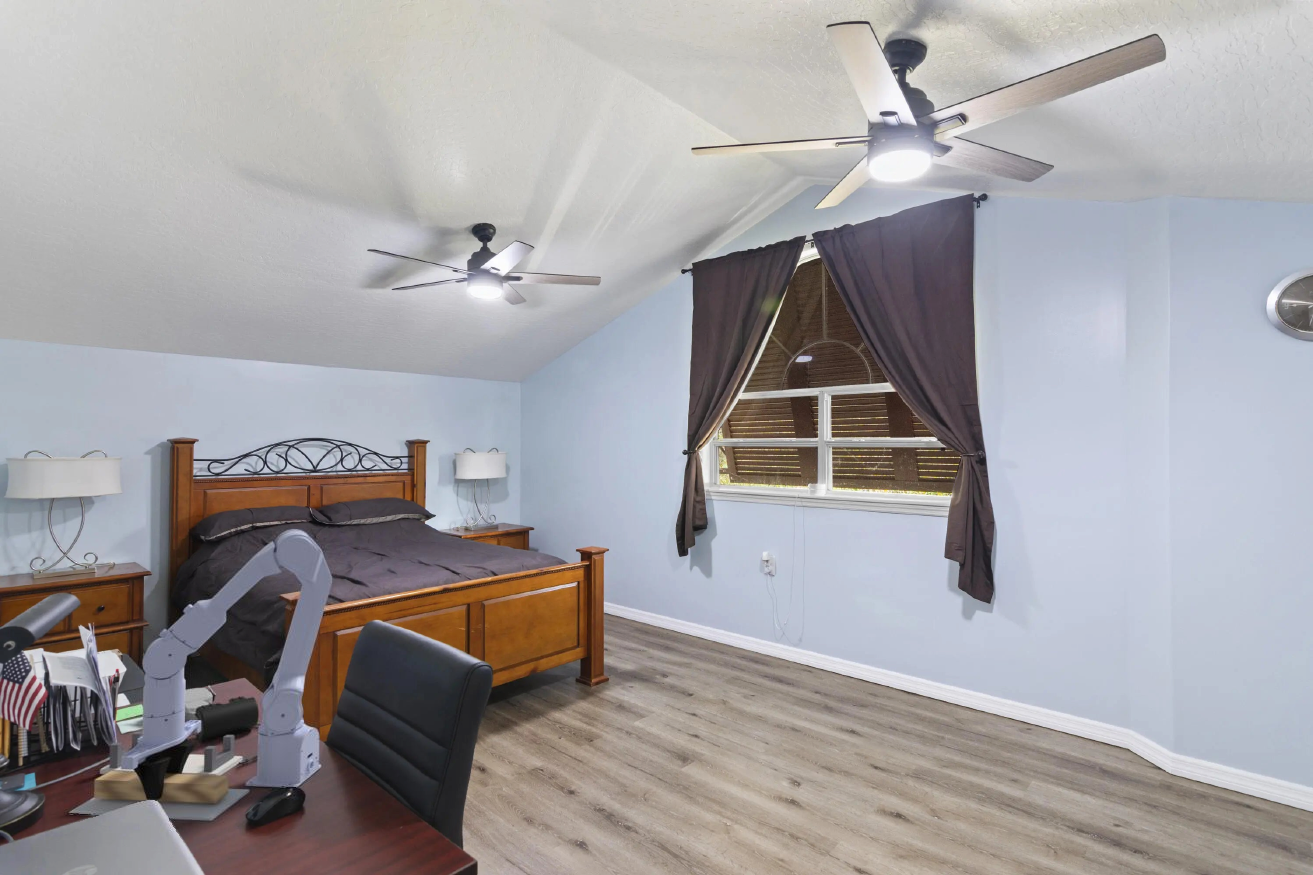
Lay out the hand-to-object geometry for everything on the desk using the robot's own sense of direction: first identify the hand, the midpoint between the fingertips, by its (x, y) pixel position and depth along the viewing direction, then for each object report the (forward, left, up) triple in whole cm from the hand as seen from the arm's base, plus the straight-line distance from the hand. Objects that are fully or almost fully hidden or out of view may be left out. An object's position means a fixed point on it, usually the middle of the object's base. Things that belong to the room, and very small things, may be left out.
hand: (162, 792), depth 112 cm
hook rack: (+8, -12, -2) cm, 15 cm away
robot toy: (+22, -34, -2) cm, 41 cm away
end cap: (+8, -26, -2) cm, 27 cm away
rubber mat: (0, 0, -2) cm, 2 cm away
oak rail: (0, 0, 0) cm, 1 cm away
